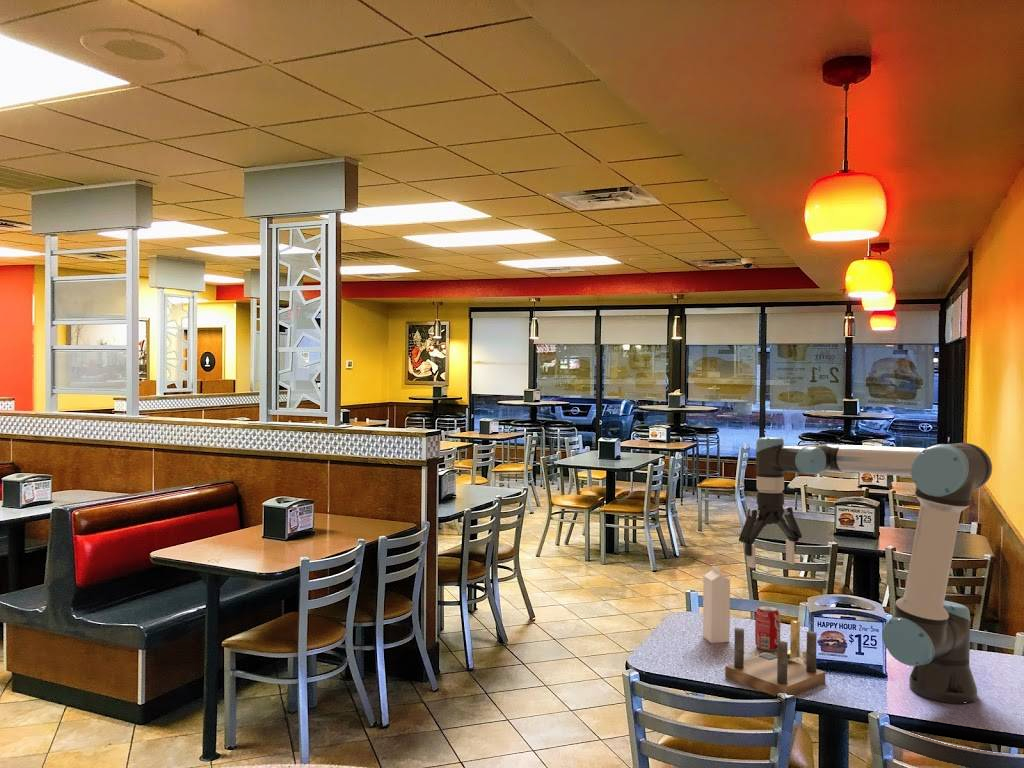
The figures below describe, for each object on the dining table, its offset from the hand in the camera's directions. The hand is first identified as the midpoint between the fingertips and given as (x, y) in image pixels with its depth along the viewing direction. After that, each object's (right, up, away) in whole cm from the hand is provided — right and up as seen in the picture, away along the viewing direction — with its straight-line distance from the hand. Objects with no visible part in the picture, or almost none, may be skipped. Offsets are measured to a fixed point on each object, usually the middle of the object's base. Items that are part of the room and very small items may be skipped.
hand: (770, 565), depth 224 cm
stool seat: (-5, -26, -18) cm, 32 cm away
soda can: (+1, -26, +6) cm, 27 cm away
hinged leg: (+2, -22, -11) cm, 25 cm away
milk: (-12, -26, +14) cm, 32 cm away
